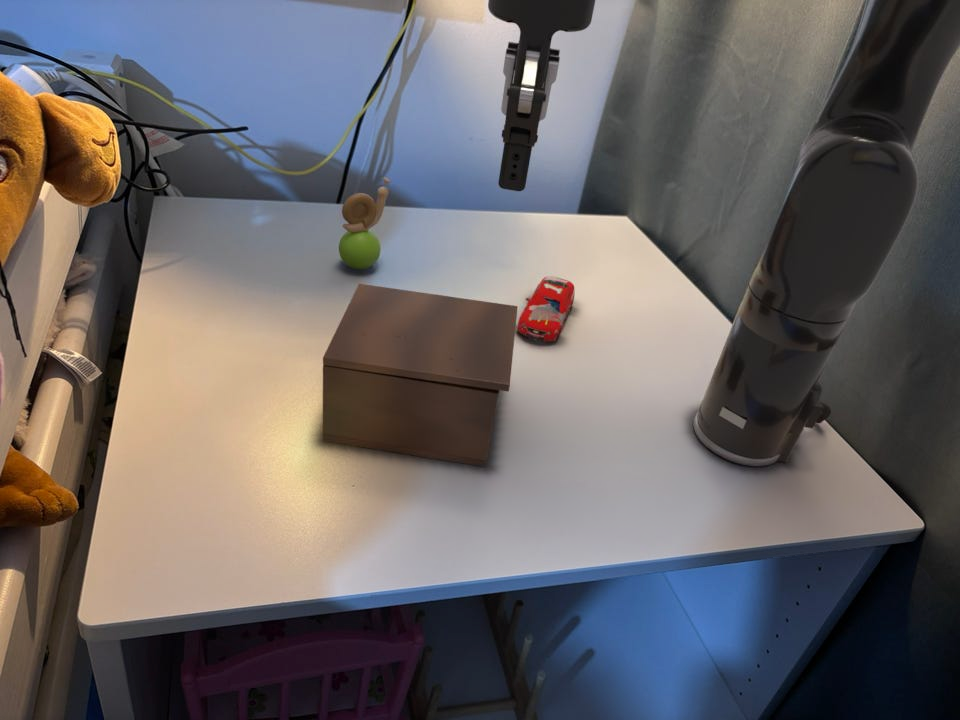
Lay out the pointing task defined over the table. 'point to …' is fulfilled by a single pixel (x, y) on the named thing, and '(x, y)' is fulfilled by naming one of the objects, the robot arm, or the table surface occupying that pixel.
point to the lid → (426, 337)
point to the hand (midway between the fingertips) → (511, 186)
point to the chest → (408, 415)
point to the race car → (547, 309)
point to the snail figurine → (362, 228)
